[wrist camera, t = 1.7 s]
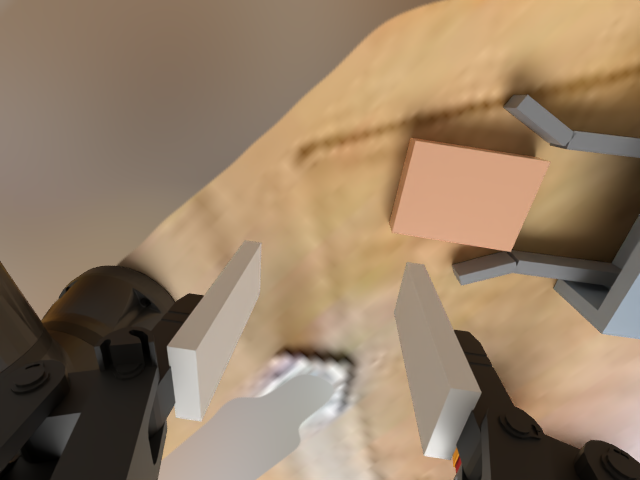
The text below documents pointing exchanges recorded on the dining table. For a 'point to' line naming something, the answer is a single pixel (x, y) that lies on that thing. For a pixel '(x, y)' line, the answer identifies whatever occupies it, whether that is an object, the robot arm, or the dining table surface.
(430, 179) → the terracotta tile
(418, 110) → the dining table surface
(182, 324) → the robot arm
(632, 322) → the grey docking fixture
